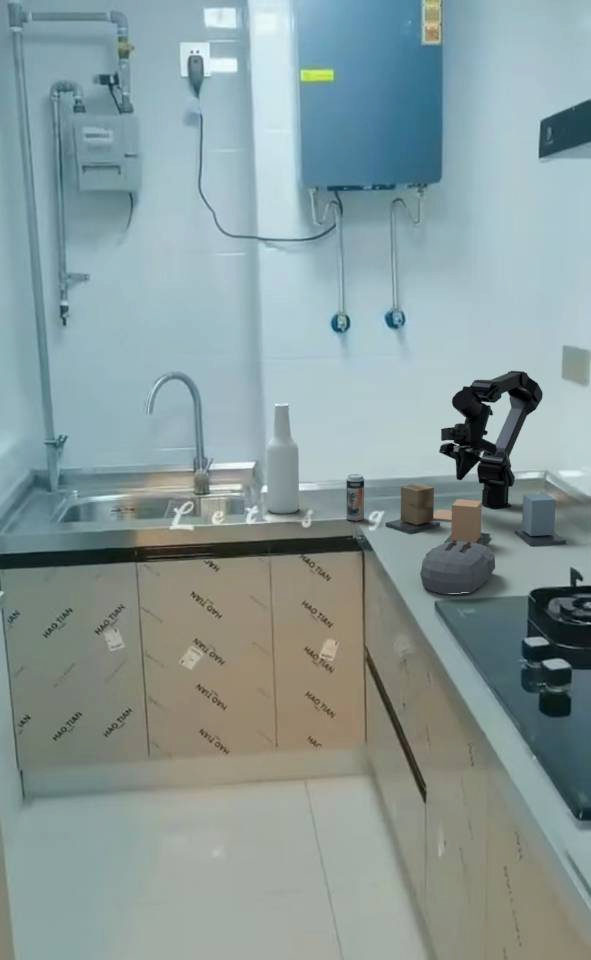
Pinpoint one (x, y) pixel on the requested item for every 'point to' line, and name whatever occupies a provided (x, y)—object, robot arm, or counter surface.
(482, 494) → the robot arm
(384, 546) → the counter surface
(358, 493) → the beer can
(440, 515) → the card
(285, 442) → the alcohol
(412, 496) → the brown wooden block
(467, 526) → the tan block
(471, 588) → the small grey backpack
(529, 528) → the blue-grey rectangular block
